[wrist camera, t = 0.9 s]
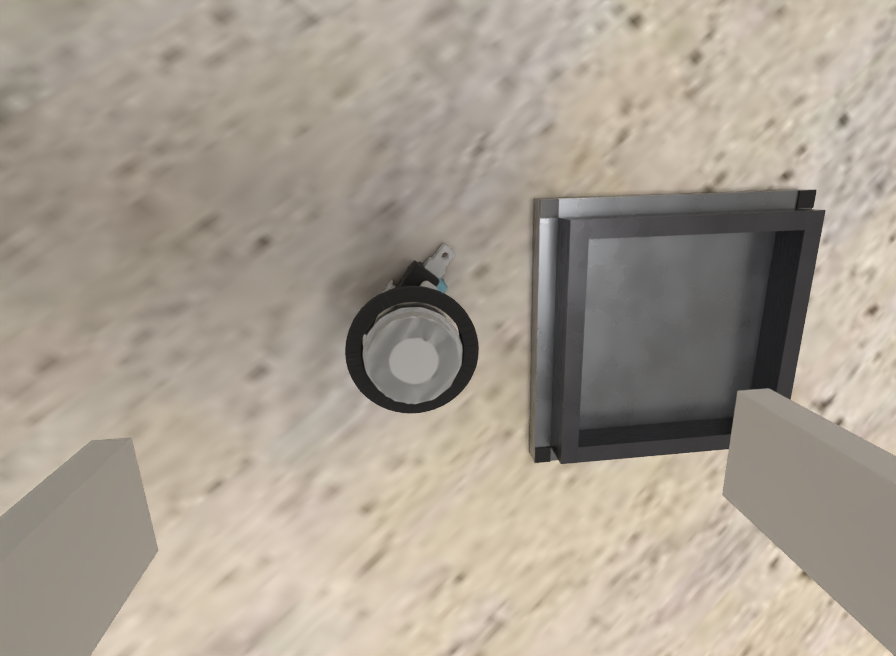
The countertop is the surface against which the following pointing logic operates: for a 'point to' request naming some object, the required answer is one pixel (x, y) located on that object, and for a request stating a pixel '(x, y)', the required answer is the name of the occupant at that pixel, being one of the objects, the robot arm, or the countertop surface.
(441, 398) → the push button
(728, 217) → the grey metal square tray
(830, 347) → the countertop surface
